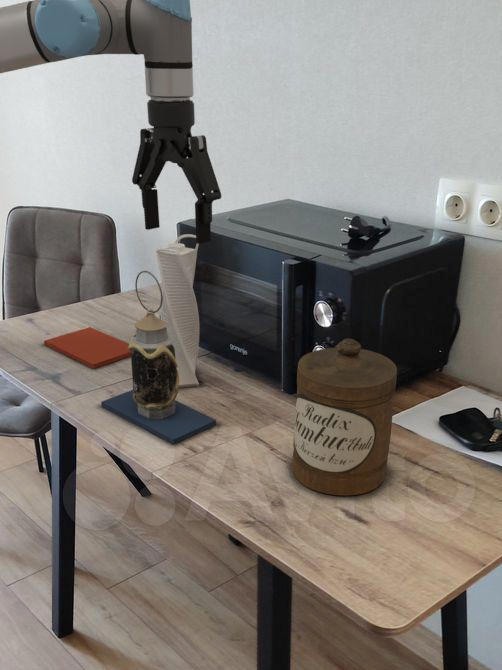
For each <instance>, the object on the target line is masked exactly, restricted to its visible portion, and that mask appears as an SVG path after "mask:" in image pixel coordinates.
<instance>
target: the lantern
mask: <svg viewBox="0 0 502 670" xmlns="http://www.w3.org/2000/svg"><path fill="white" fill-rule="evenodd" d="M143 273H145V274H146V273H147V274H148V275H150V276H151V277H152V278H153V279H154V280H155V282H156V284H157V286H158V288H159V292H160V293H159V294H160V304H159V307H158V308H157V309H156V310H153V309H152V308H150V309H148V308H147V307H146V306H145V305H144V303H143V302H142V300H141V298H140V294H139V292H138V280H139V277H140V276H141V274H143ZM134 286H135V288H134V289H135V293H136V296H137V300H138V301H139V303H140V305H141V306H142V308H143V309H144V310H145V311H146V313H145V314H146V315H145V316H144V317H143V318H141V319H139V320H137V321H136V322H134V324H133V326H134V328H135V334H134V335H133V336H132V337H130V341H129V342H128V344H129V346H128V350H131V356H130V360H131V376H132V377H131V378H132V390H133V393H134V394H133V398H134V400H135V402H136V403H137V405H138V413H139V414H141V415H143V416H145V417H147V418H149V419H163V418H165V417H167V416H170V415H172V414H174V413H175V409H176V403H175V400H176V398H177V397H178V394H179V388H178V387H179V373H178V370H177V369H176V368H178V365H177V362H176V359H175V349H174V347H173V345H172V343H173V338H172V337H169V336H168V335H167V329H166V327H167V326H168V323H167V322H165V321H163V320H161V319H160V318H159V316H157V315H155V313H157V312H159V311H160V310H161V308H162V301H163V296H162V293H163V289H162V287H161V285H160V282H159V280H158V279H157V277H156V276H155V275H154V274H153V272H150V271H148V270H142V271H140V272H138V274H137V276H136V278H135V285H134ZM131 348H132V349H131Z"/></svg>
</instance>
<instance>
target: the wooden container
mask: <svg viewBox="0 0 502 670" xmlns="http://www.w3.org/2000/svg"><path fill="white" fill-rule="evenodd" d="M397 369H398V368H397V366H396V364H395V363H394V362H393V361H392V360H391V359H390V358H388V357H387V356H385V355H383V354H380V353H378V352H375V351H372V350H368V349H364V348H362V345H361V343H360V342H359V341H356V340H355V339H354V338H345V339H343V340H341V341H339V342H338V344H336V347H327V348H322V349H318V350H313V351H311V352H308V353H306V354H305V355H303V356H302V357H301V358H300V359H299V360H298V363H297V371H296V386H297V387H296V389H297V390H296V401H295V416H294V429H293V430H294V431H293V444H292V445H293V446H292V447H293V450H292V472H293V474H294V477H295V478H296V479H297V480H298V481H299V482H300V483H301V484H302V485H303V486H305V487H307V488H309V489H311V490H314V491H316V492H319V493H322V494H327V495H331V496H356V495H362V494H366V493H369V492H371V491H373V490H375V489H377V488H378V487H379V486H381V484H382V483H383V482H384V481H385V478H386V473H387V468H388V466H387V465H388V457H389V452H390V443H391V436H392V426H393V414H394V404H395V395H396V394H395V393H396V387H397V378H398V377H397V376H398V370H397Z"/></svg>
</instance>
